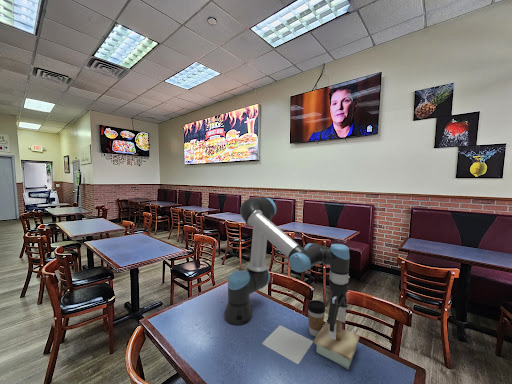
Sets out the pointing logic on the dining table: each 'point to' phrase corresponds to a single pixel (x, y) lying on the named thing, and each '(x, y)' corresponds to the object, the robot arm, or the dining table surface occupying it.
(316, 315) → the coffee cup
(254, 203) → the robot arm
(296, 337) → the mat
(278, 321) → the dining table surface
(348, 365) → the dish
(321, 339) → the lid
